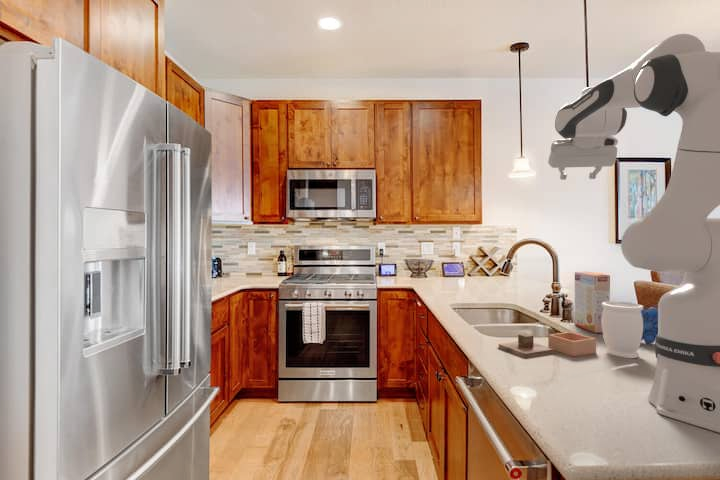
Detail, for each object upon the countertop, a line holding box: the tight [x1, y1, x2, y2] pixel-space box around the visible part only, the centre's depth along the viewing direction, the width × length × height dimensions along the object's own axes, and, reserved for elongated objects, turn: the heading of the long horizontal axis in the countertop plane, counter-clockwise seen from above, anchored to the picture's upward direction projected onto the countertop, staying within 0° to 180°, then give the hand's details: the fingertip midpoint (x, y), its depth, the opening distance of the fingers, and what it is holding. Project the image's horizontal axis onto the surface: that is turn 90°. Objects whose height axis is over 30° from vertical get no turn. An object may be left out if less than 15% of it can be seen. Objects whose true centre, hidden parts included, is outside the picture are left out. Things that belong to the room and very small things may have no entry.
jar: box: [601, 301, 644, 359], centre depth 121 cm, size 11×10×15 cm
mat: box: [497, 346, 558, 360], centre depth 124 cm, size 12×12×1 cm
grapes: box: [641, 306, 658, 345], centre depth 133 cm, size 12×7×12 cm, turn 49°
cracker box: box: [573, 271, 611, 334], centre depth 153 cm, size 14×6×21 cm, turn 179°
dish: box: [547, 331, 597, 358], centre depth 123 cm, size 9×9×5 cm
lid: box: [498, 333, 555, 359], centre depth 124 cm, size 11×11×5 cm
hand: (577, 178), depth 139 cm, fingers open, 8 cm apart
